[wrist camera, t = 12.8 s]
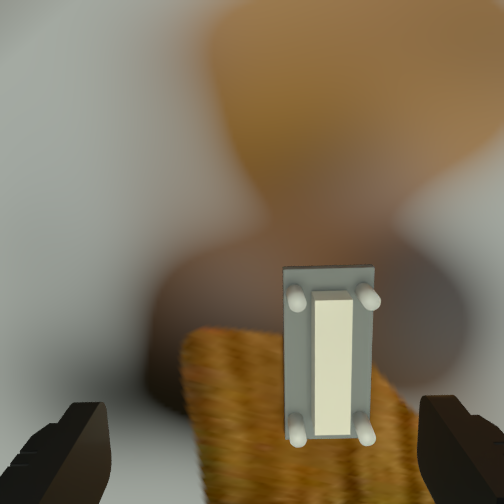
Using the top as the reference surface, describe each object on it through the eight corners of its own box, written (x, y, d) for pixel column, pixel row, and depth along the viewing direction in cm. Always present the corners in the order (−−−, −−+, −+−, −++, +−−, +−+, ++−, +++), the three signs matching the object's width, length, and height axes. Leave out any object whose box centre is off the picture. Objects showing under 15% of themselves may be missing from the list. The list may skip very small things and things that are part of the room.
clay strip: (311, 291, 39) (315, 300, 37) (346, 290, 39) (352, 299, 37) (311, 418, 42) (314, 435, 39) (344, 417, 42) (350, 434, 39)
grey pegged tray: (282, 266, 40) (285, 279, 36) (371, 264, 40) (384, 277, 36) (284, 432, 43) (287, 461, 39) (366, 431, 43) (377, 459, 39)
